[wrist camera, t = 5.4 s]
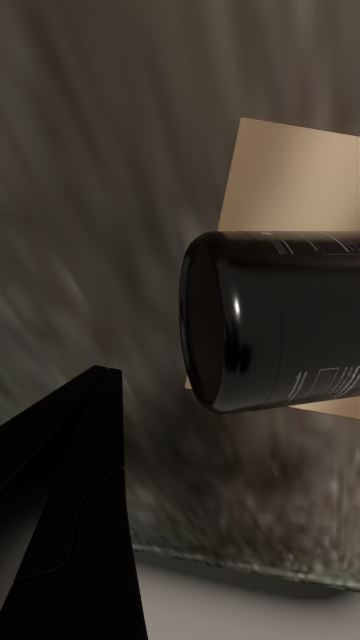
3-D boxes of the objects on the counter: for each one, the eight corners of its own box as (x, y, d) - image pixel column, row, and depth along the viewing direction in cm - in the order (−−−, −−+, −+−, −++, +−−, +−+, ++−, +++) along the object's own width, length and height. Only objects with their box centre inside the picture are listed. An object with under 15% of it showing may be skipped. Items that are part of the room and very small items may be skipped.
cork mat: (185, 384, 20) (184, 388, 20) (240, 118, 12) (241, 117, 12) (374, 417, 20) (377, 422, 20) (552, 170, 12) (561, 170, 12)
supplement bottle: (175, 359, 15) (363, 345, 17) (215, 462, 9) (504, 419, 11) (178, 225, 12) (396, 230, 15) (236, 231, 6) (599, 238, 9)
